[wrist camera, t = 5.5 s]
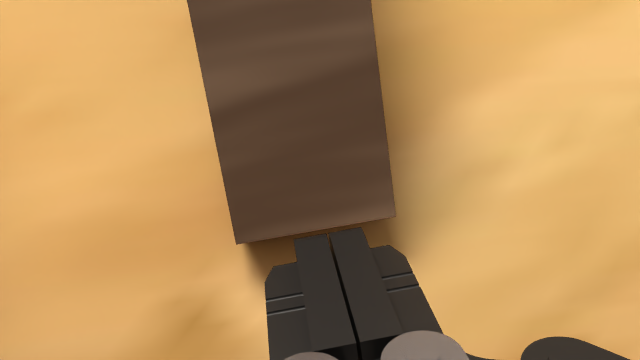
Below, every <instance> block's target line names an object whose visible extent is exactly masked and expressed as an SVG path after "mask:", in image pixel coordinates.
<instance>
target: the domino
mask: <svg viewBox="0 0 640 360" xmlns="http://www.w3.org/2000/svg"><path fill="white" fill-rule="evenodd" d="M187 3H188V7H189V12H190V17H191V22H192V27H193V32H194V37H195V42H196V47H197V52H198V57H199V62H200V67H201V72H202V77H203V82H204V87H205V92H206V97H207V102H208V107H209V112H210V117H211V122H212V127H213V132H214V137H215V142H216V147H217V151H218V156H219V161H220V166H221V171H222V176H223V181H224V186H225V191H226V196H227V201H228V206H229V211H230V216H231V221H232V226H233V231H234V236H235V241H236V245H237V244H242V243H248V242H254V241H259V240H265V239H271V238H276V237H282V236H288V235H294V234H299V233H305V232H311V231H316V230H322V229H328V228H333V227H339V226H345V225H350V224H356V223H362V222H368V221H373V220H379V219H385V218H390V217H396V213H395V204H394V196H393V187H392V179H391V170H390V162H389V153H388V145H387V136H386V128H385V119H384V111H383V102H382V94H381V85H380V77H379V68H378V60H377V51H376V42H375V34H374V25H373V17H372V8H371V0H187Z"/></svg>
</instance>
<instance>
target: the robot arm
mask: <svg viewBox="0 0 640 360" xmlns="http://www.w3.org/2000/svg"><path fill="white" fill-rule="evenodd" d="M328 235H329V242H328V239H327V235H326V234H321V235H316V236H310V237H305V238H299V239H294V245H295V251H296V257H297V262H295V263H290V264H284V265H279V266H273V268H272V270H271V272H270V273H269V275H268V277H267V279H266V281H265V296H266V311H267V326H268V341H269V355H270V360H494V359H485V358H480V357H476V356H473V355H470V354H467V353H465V352H464V350H463V349H462V347H461V346H460V345H459V344H458V343H457V342H456V341H455V340H453V339H452V338H450V337H448V336H446V335H444V334H443V332H442V330H441V328H440V326H439V324H438V322H437V320H436V318H435V316H434V314H433V312H432V310H431V308H430V306H429V304H428V302H427V300H426V298H425V296H424V294H423V291H422V289H421V287H419V283H418V281H417V279H416V277H415V275H414V274H413V271H412V269H411V267H410V265H409V263H408V261H407V259H406V257H405V256H404V255H403V254H401V253H400V252H398V251H397V250H396V249H394V248H393V247H391V246H390V245H386V246H381V247H376V248H370V247H369V245H368V242H367V240H366V237H365V235H364V232H363V230H362V228H361V227H359V228H353V229H348V230H342V231H337V232H331V233H329V234H328ZM329 244H330V246H329ZM521 360H630V359H627V358H625V357H622V356H620V355H617V354H615V353H612V352H610V351H607V350H605V349H602V348H600V347H597V346H595V345H592V344H590V343H587V342H585V341H582V340H579V339H574V338H569V337H547V338H543V339H540V340H537V341H535V342H533V343H532V344H530V345H529V346H528V347H527V348H526V349H525V350H524V352H523V353H522V356H521Z"/></svg>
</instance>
